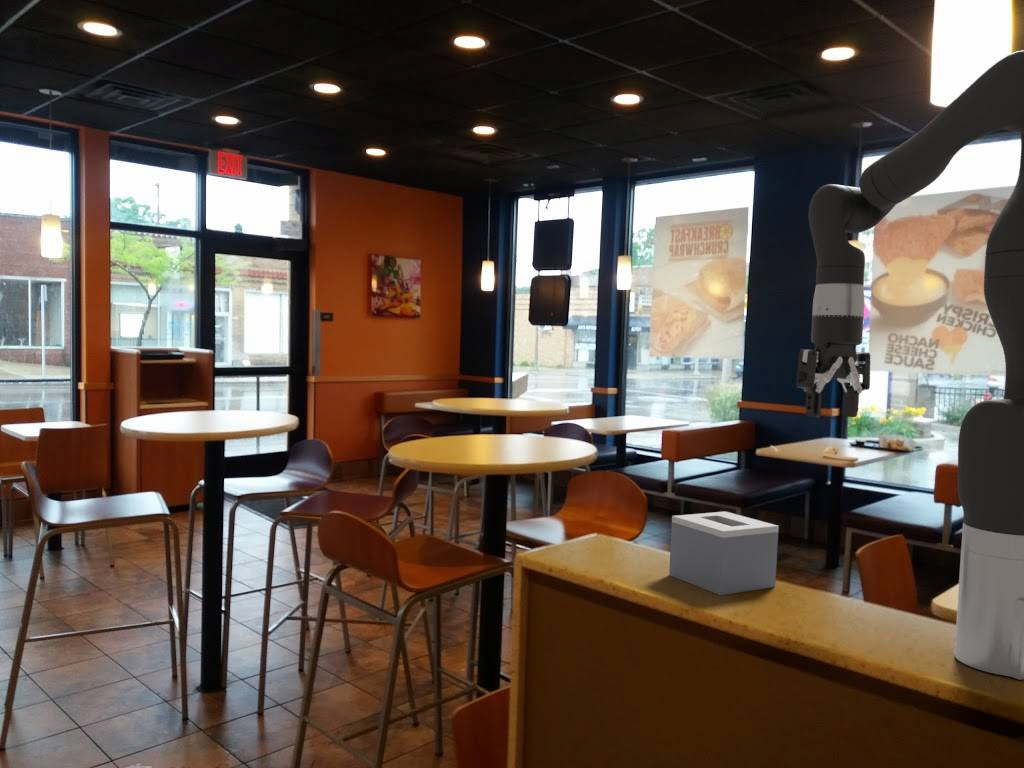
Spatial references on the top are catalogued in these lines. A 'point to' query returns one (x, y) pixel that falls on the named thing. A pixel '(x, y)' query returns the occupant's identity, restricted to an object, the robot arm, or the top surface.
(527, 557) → the top surface
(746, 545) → the coin box
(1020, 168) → the robot arm
